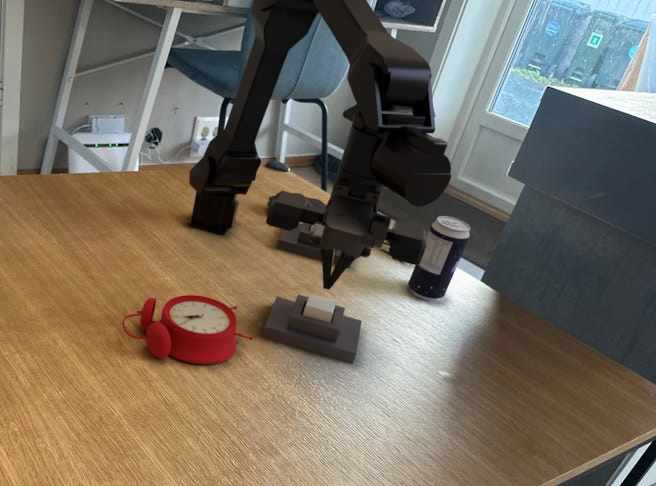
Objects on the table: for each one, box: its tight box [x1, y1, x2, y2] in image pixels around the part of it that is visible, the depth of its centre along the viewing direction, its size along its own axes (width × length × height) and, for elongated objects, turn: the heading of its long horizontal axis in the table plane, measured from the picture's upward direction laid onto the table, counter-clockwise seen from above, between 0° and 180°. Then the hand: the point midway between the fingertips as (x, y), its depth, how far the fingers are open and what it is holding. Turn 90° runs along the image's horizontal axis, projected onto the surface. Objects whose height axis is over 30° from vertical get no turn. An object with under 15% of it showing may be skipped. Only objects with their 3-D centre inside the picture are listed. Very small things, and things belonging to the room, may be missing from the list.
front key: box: [303, 293, 337, 323], centre depth 92 cm, size 4×4×2 cm
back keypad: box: [276, 222, 352, 270], centre depth 116 cm, size 12×9×4 cm
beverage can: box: [407, 215, 471, 302], centre depth 106 cm, size 6×6×12 cm
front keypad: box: [261, 294, 363, 365], centre depth 93 cm, size 12×9×4 cm
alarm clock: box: [121, 294, 254, 365], centre depth 86 cm, size 10×6×15 cm
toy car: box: [266, 192, 327, 211], centre depth 127 cm, size 6×12×4 cm, turn 99°
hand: (326, 287), depth 90 cm, fingers closed
